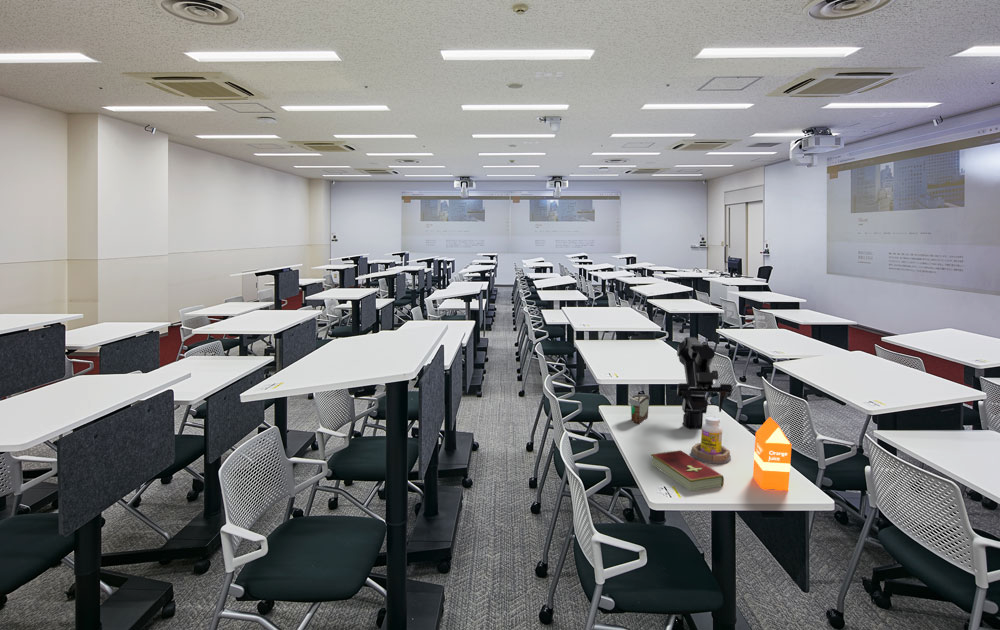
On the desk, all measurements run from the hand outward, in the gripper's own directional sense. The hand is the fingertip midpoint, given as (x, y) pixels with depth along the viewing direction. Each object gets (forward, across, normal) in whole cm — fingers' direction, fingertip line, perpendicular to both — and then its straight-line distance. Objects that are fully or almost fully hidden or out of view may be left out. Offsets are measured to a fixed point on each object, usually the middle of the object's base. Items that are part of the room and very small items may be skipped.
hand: (706, 411), depth 191 cm
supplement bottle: (+15, 0, +3) cm, 15 cm away
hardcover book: (+28, -10, -9) cm, 31 cm away
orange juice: (+29, +15, -10) cm, 34 cm away
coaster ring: (+16, 0, +3) cm, 16 cm away
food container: (-8, -24, +27) cm, 37 cm away
